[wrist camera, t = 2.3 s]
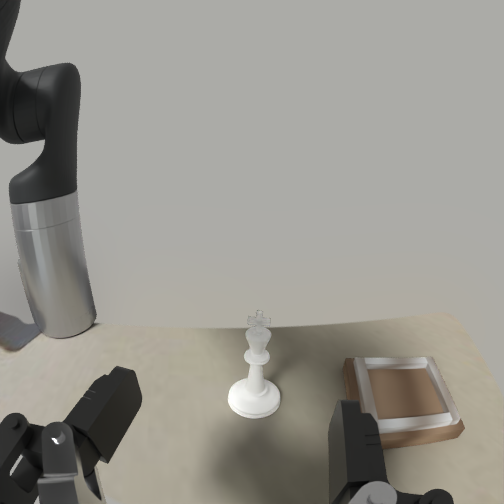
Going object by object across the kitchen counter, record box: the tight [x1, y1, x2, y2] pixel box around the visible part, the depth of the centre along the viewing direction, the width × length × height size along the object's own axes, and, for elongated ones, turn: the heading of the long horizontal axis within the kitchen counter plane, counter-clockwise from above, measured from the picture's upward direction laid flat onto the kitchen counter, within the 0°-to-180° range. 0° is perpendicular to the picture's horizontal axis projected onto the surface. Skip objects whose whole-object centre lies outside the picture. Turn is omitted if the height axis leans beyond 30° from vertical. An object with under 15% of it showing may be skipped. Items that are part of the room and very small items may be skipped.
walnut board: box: [343, 357, 465, 449], centre depth 23 cm, size 11×11×2 cm
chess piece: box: [228, 310, 280, 419], centre depth 23 cm, size 5×5×10 cm
